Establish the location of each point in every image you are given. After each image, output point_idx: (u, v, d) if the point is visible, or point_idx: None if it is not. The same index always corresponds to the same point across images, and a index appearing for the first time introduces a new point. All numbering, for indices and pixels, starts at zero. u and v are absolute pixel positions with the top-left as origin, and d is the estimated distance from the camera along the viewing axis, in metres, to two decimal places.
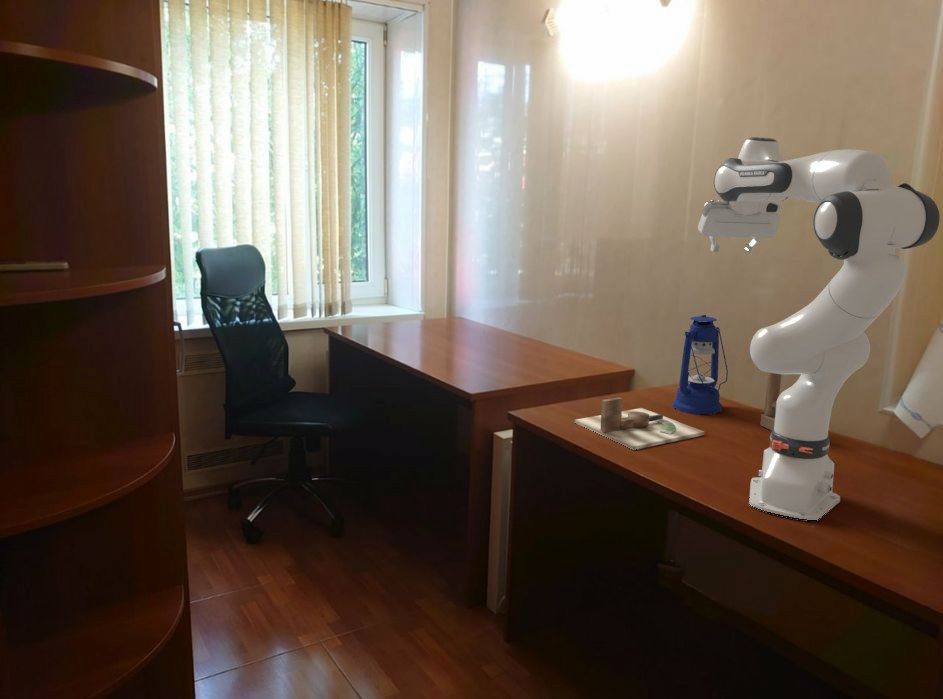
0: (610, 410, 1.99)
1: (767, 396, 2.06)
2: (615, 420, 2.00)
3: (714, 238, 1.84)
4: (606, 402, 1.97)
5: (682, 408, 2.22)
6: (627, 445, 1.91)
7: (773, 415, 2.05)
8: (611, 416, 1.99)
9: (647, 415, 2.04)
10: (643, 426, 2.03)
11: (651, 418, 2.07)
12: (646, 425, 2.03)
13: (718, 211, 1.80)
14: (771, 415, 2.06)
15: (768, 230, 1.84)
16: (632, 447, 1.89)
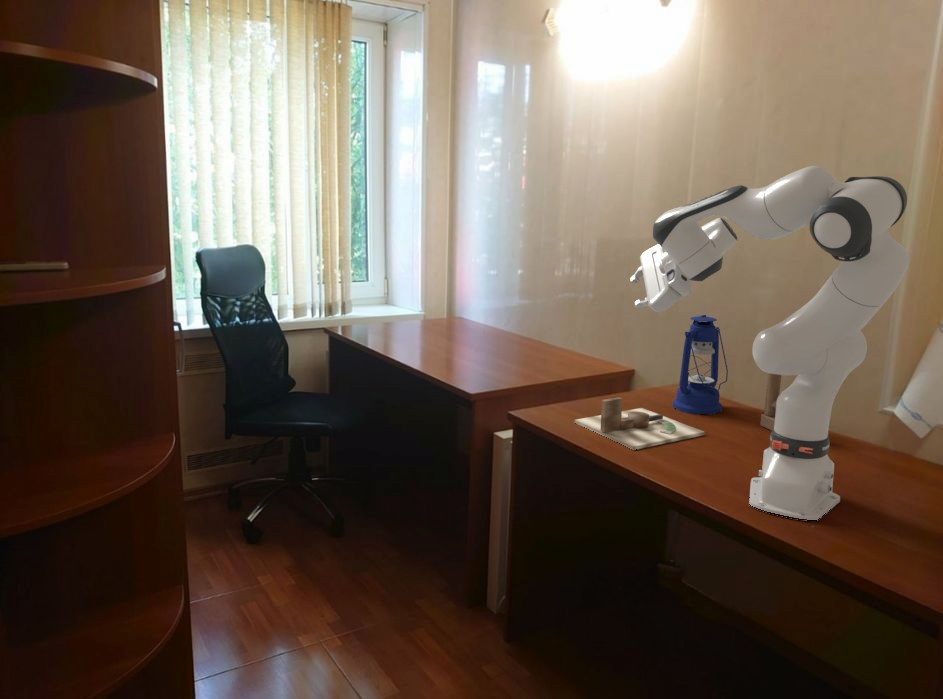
0: (610, 410, 1.99)
1: (767, 396, 2.06)
2: (615, 420, 2.00)
3: (640, 268, 1.90)
4: (606, 402, 1.97)
5: (682, 408, 2.22)
6: (627, 445, 1.91)
7: (773, 415, 2.05)
8: (611, 416, 1.99)
9: (647, 415, 2.04)
10: (643, 426, 2.03)
11: (651, 418, 2.07)
12: (646, 425, 2.03)
13: (660, 247, 1.86)
14: (771, 415, 2.06)
15: (654, 296, 1.79)
16: (632, 447, 1.89)
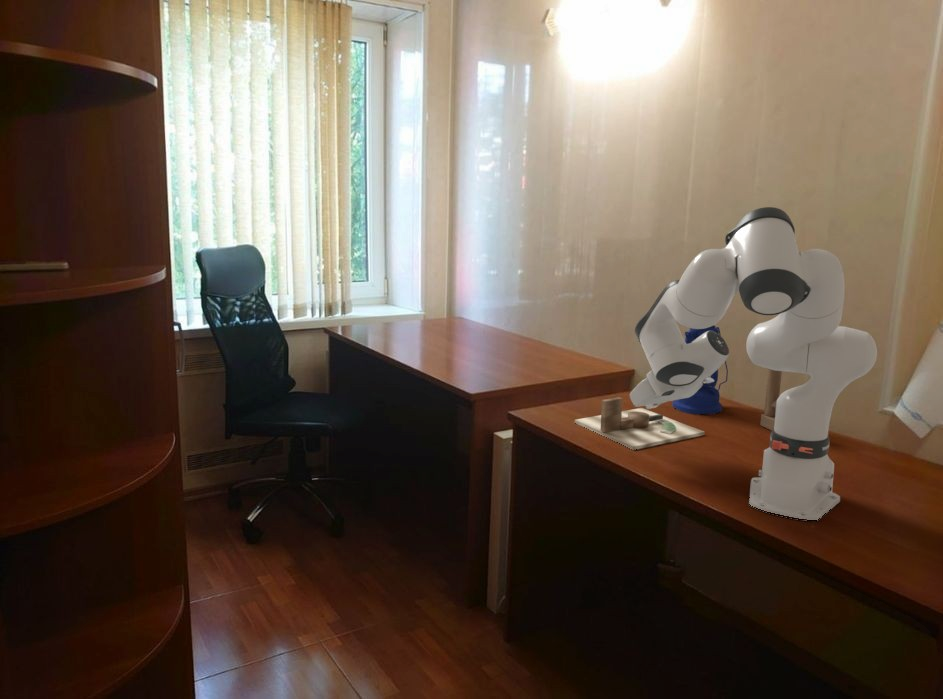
0: (610, 410, 1.99)
1: (767, 396, 2.06)
2: (615, 420, 2.00)
3: None
4: (606, 402, 1.97)
5: (682, 408, 2.22)
6: (627, 445, 1.91)
7: (773, 415, 2.05)
8: (611, 416, 1.99)
9: (647, 415, 2.04)
10: (643, 426, 2.03)
11: (651, 418, 2.07)
12: (646, 425, 2.03)
13: None
14: (771, 415, 2.06)
15: None
16: (632, 447, 1.89)
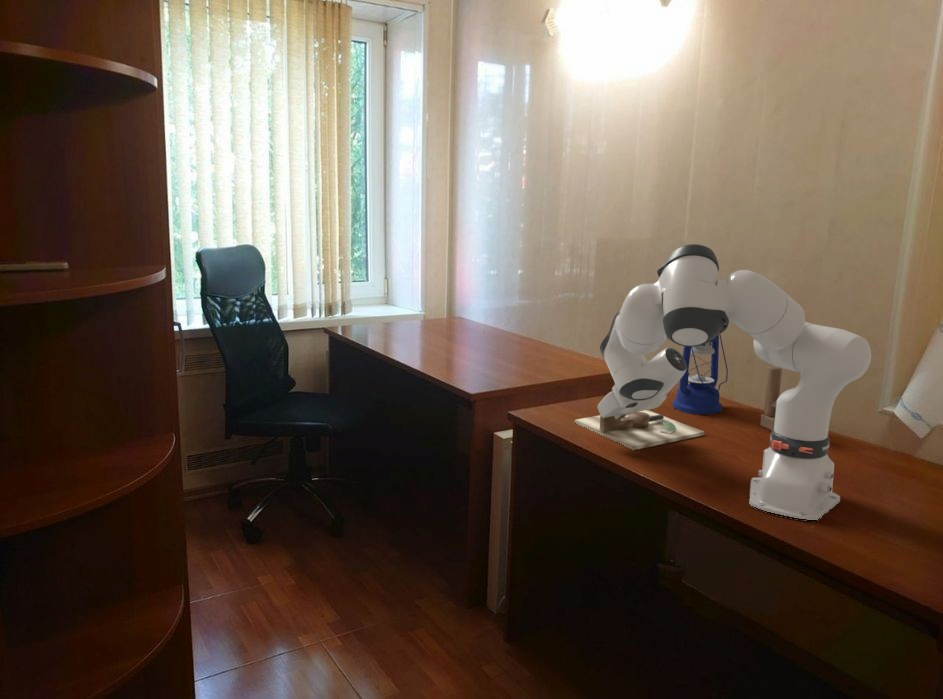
0: None
1: (767, 396, 2.06)
2: (614, 419, 2.00)
3: None
4: None
5: (682, 408, 2.22)
6: (627, 445, 1.91)
7: (773, 415, 2.05)
8: None
9: (647, 415, 2.04)
10: (643, 426, 2.03)
11: (651, 418, 2.07)
12: (646, 425, 2.03)
13: None
14: (771, 415, 2.06)
15: None
16: (632, 447, 1.89)
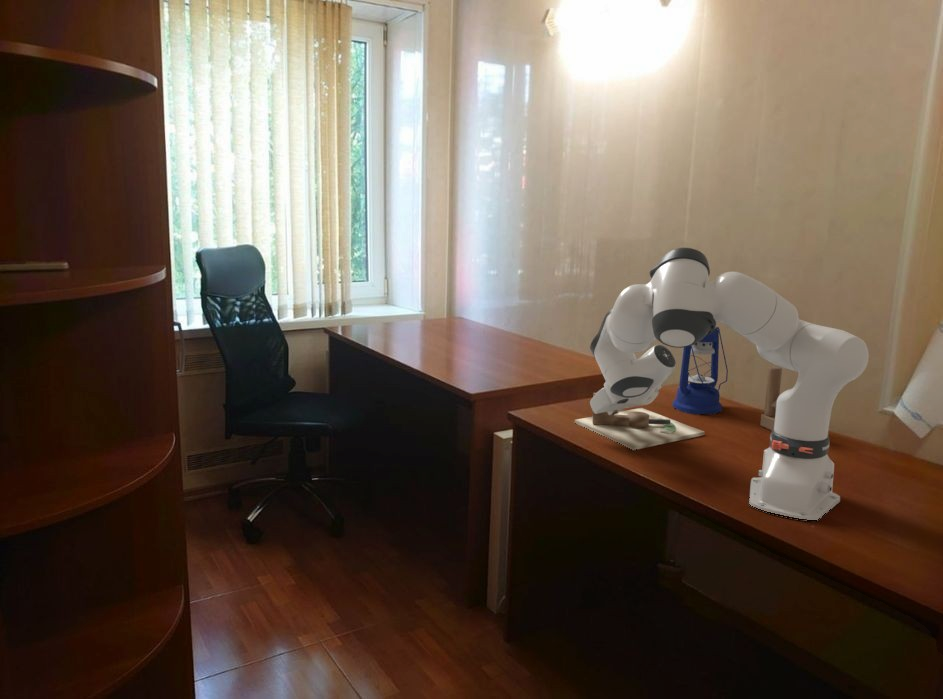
0: None
1: (767, 396, 2.06)
2: (606, 414, 2.05)
3: None
4: None
5: (682, 408, 2.22)
6: (627, 445, 1.91)
7: (773, 415, 2.05)
8: None
9: (645, 416, 2.03)
10: (637, 426, 2.03)
11: (654, 421, 2.05)
12: (641, 426, 2.03)
13: None
14: (771, 415, 2.06)
15: None
16: (632, 447, 1.89)
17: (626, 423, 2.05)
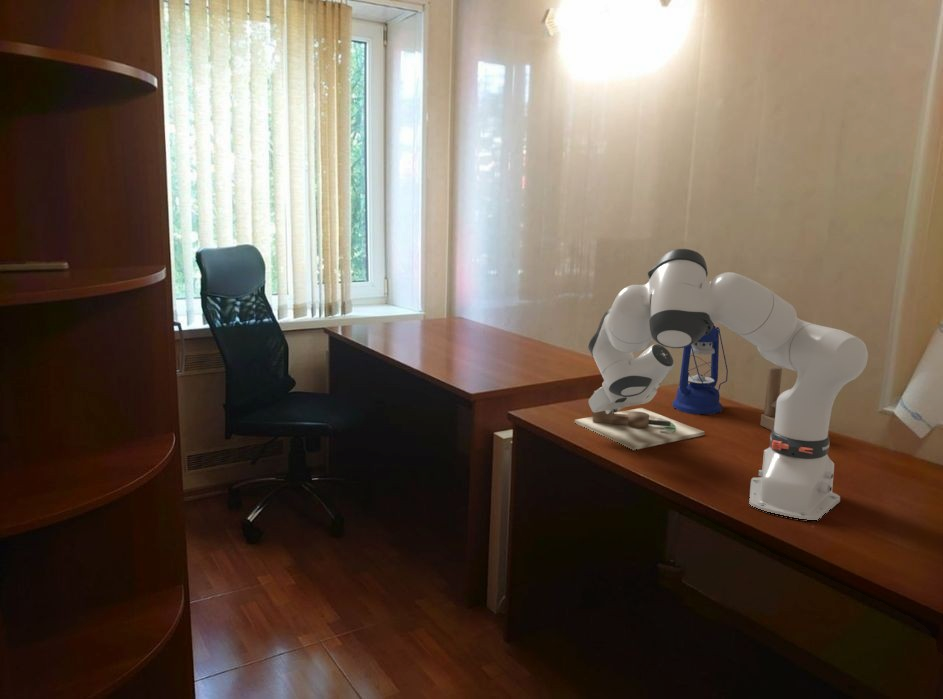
0: None
1: (767, 396, 2.06)
2: (605, 412, 2.07)
3: None
4: None
5: (682, 408, 2.22)
6: (627, 445, 1.91)
7: (773, 415, 2.05)
8: None
9: (644, 417, 2.03)
10: (635, 426, 2.03)
11: (654, 422, 2.04)
12: (639, 426, 2.03)
13: None
14: (771, 415, 2.06)
15: None
16: (632, 447, 1.89)
17: (625, 422, 2.06)
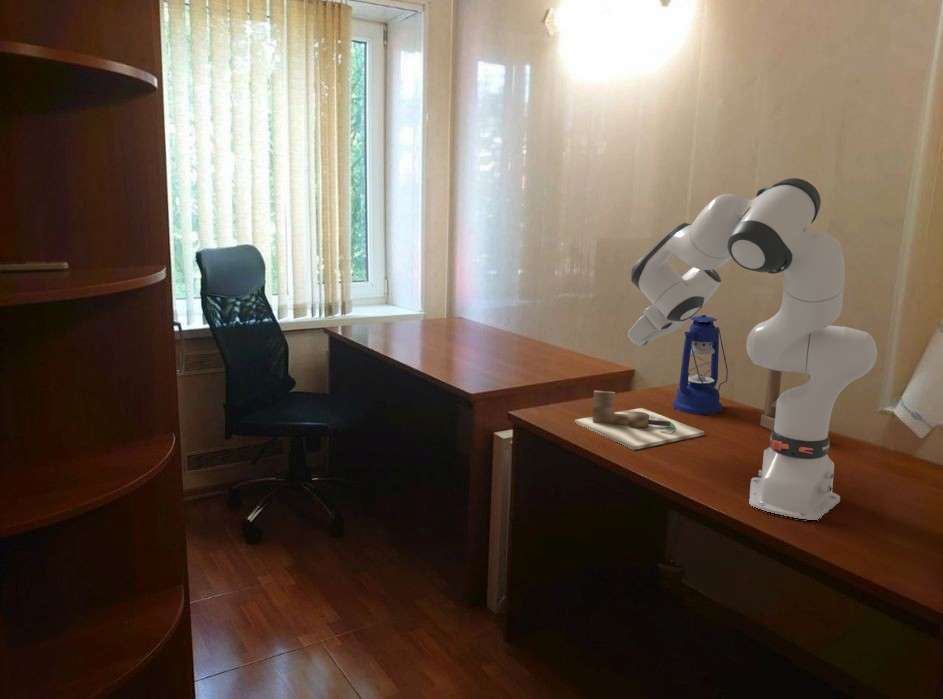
0: (599, 401, 2.07)
1: (767, 396, 2.06)
2: (605, 412, 2.07)
3: None
4: (594, 393, 2.07)
5: (682, 408, 2.22)
6: (627, 445, 1.91)
7: (773, 415, 2.05)
8: (601, 408, 2.07)
9: (644, 417, 2.03)
10: (635, 426, 2.03)
11: (654, 422, 2.04)
12: (639, 426, 2.03)
13: None
14: (771, 415, 2.06)
15: None
16: (632, 447, 1.89)
17: (625, 422, 2.06)
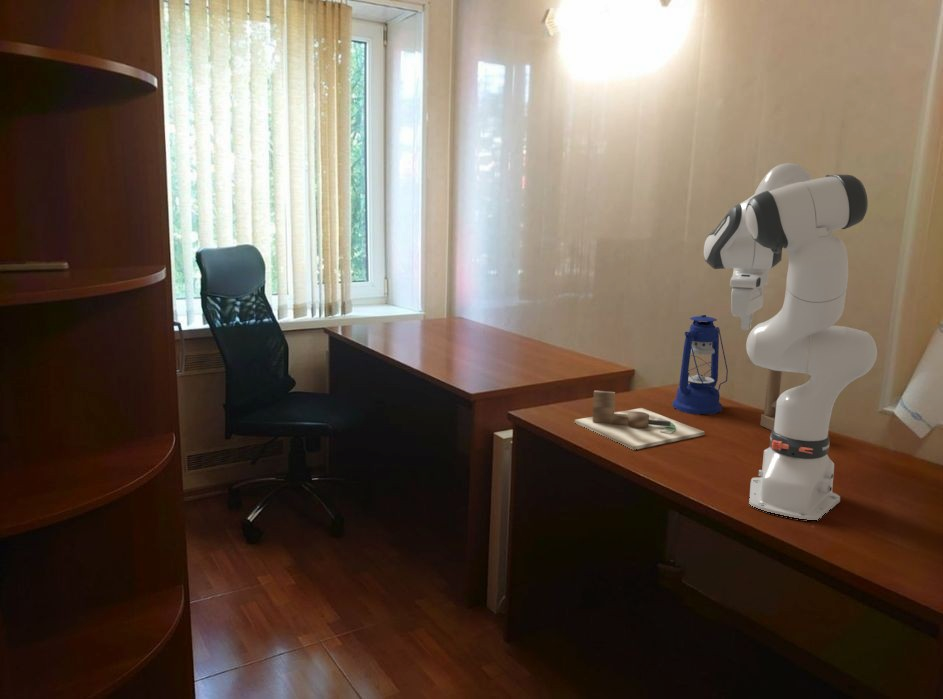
0: (599, 401, 2.07)
1: (767, 396, 2.06)
2: (605, 412, 2.07)
3: None
4: (594, 393, 2.07)
5: (682, 408, 2.22)
6: (627, 445, 1.91)
7: (773, 415, 2.05)
8: (601, 408, 2.07)
9: (644, 417, 2.03)
10: (635, 426, 2.03)
11: (654, 422, 2.04)
12: (639, 426, 2.03)
13: None
14: (771, 415, 2.06)
15: None
16: (632, 447, 1.89)
17: (625, 422, 2.06)
